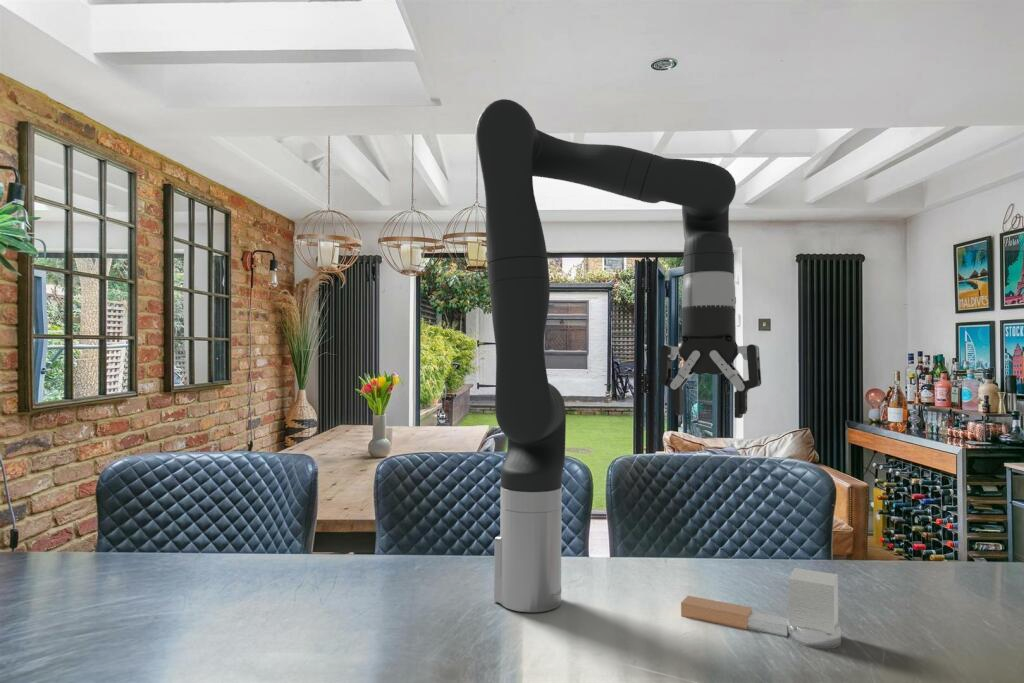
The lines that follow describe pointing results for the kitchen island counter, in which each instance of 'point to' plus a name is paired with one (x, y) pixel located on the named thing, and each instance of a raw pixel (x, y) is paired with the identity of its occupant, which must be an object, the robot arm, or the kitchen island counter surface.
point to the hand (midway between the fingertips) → (708, 416)
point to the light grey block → (813, 600)
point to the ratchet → (756, 622)
